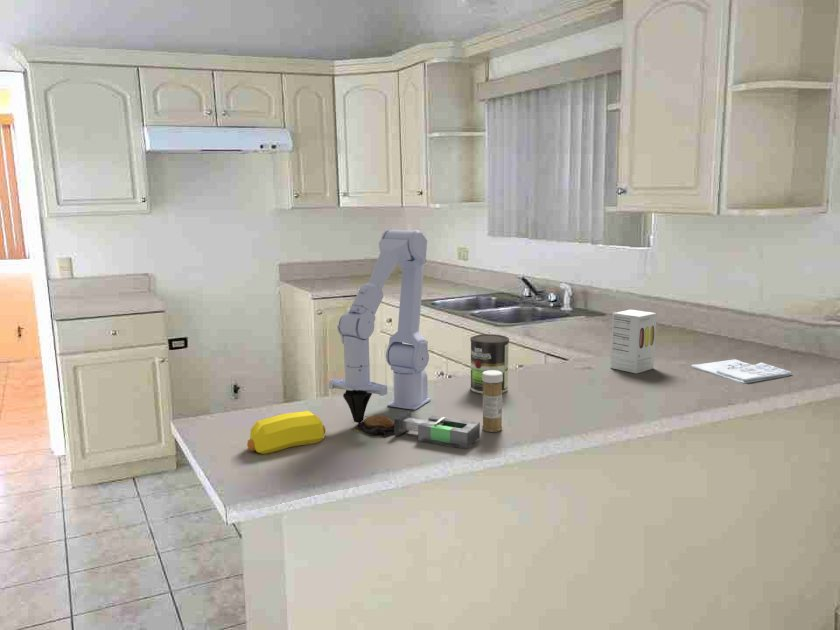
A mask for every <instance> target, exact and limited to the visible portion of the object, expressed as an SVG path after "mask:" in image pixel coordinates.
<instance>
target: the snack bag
mask: <svg viewBox="0 0 840 630" xmlns="http://www.w3.org/2000/svg"><path fill="white" fill-rule="evenodd" d="M690 366H691V367H690V368H691V369H693V370H698V371H700V372H701V371H702V372H705V373H708V374H711V375H714V376H718V377H721V378H724V379H726V380H730V381H734V382H736V383H739V384H743V385H744V384H748V383H755V382H760V381H766V380H772V379H777V378H783V377H788V376H789V377H790V376H791V374H793V373H792V372H791V370H787V369H783V368H780V367H777V366H774V365H771V364H767V363H764V362H759V363H756V364H752V363H748V362H744V361H742V360H738V359H736V358H734V359H728V360H727V359H726V360H722V361H721V360H720V361H719V360H718V361H713V362H708V363H707V362H706V363H698V364H697V363H696V364H691V365H690Z"/></svg>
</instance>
